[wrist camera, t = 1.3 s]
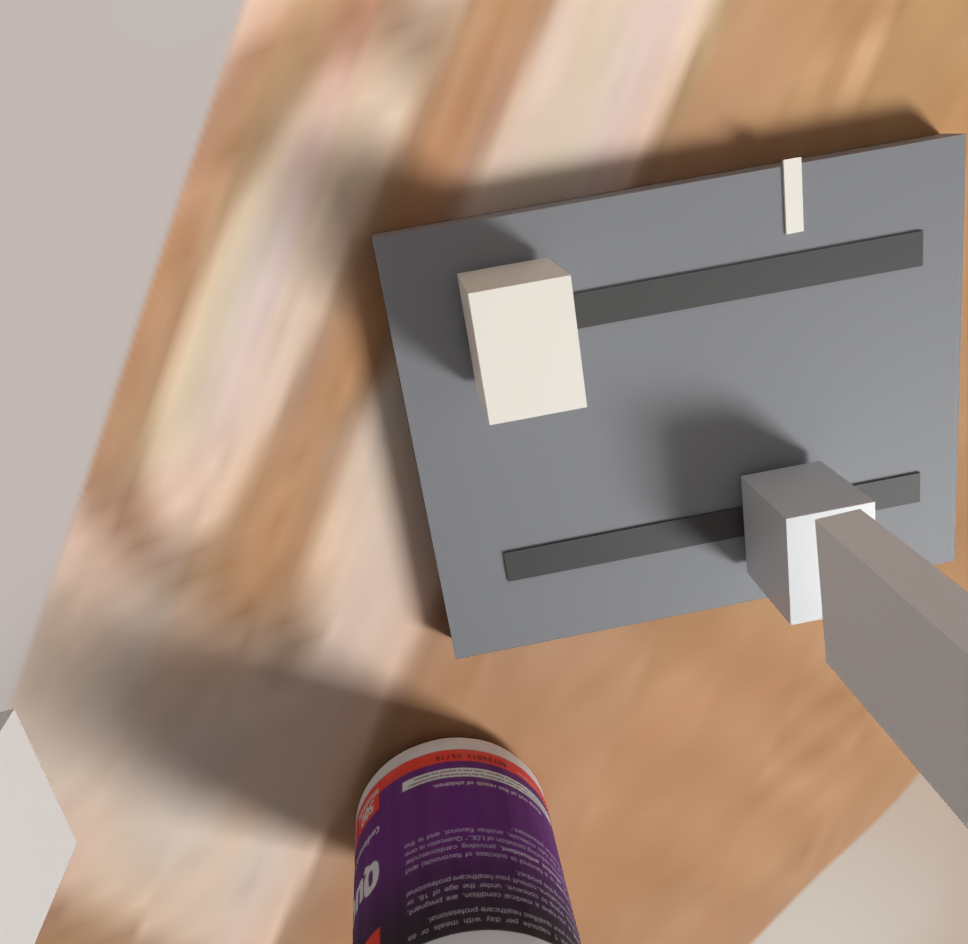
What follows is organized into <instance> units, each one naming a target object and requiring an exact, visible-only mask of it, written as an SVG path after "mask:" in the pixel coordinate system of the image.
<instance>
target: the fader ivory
mask: <svg viewBox="0 0 968 944" xmlns="http://www.w3.org/2000/svg"><path fill="white" fill-rule="evenodd" d="M457 277H458V283H459V289H460V295H461V301H462V307H463V313H464V319H465V325H466V330H467V336H468V342H469V348H470V354H471V360H472V366H473V372H474V378H475V384H476V390H477V393H478V395H479V398H480V401H481V403H482V406H483V409H484V411H485V414H486V417H487V419H488V422H489V425H494V424H500V423H505V422H510V421H516V420H521V419H526V418H532V417H537V416H542V415H548V414H553V413H558V412H564V411H569V410H574V409H580V408H585V407H587V401H586V393H585V385H584V377H583V369H582V361H581V353H580V345H579V337H578V329H577V321H576V313H575V305H574V297H573V289H572V281H571V275H570V274H569V273H567V272H566V271H565V270H563V269H562V268H561V267H559V266H558V265H557V264H555V263H554V262H553V261H551V260H550V259H548V258H547V257H546V258H541V259H535V260H530V261H524V262H519V263H513V264H507V265H502V266H496V267H491V268H485V269H480V270H474V271H468V272H463V273H457Z"/></svg>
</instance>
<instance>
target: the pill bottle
mask: <svg viewBox="0 0 968 944" xmlns="http://www.w3.org/2000/svg"><path fill="white" fill-rule="evenodd" d="M353 944H581V942H580V938H579V933H578V931H577V926H576V922H575V919H574V915H573V911H572V907H571V903H570V899H569V895H568V891H567V887H566V883H565V879H564V875H563V871H562V867H561V863H560V859H559V855H558V851H557V847H556V843H555V838H554V834H553V830H552V826H551V822H550V817H549V813H548V809H547V805H546V802H545V799H544V795H543V792H542V790H541V787H540V785H539V783H538V781H537V779H536V778H535V776H534V774H533V773H532V772H531V770H530V769H529V768H528V767H527V766H526V765H525V764H524V763H523V762H522V761H521V760H520V759H519V758H518V757H516V756H515V755H514V754H512V753H511V752H509V751H507V750H506V749H504V748H502V747H500V746H498V745H496V744H493V743H490V742H487V741H483V740H479V739H472V738H462V737H456V738H443V739H437V740H433V741H429V742H425V743H422V744H420V745H417V746H414V747H412V748H409V749H407V750H405V751H403V752H402V753H400V754H398V755H397V756H395V757H394V758H392V759H391V760H390V761H388V762H387V763H386V764H385V765H384V766H383V767H382V768H381V769H380V770H379V771H378V772H377V773H376V774H375V775H374V776H373V778H372V779H371V781H370V782H369V784H368V785H367V787H366V788H365V790H364V793H363V795H362V797H361V800H360V803H359V806H358V810H357V815H356V830H355V876H354V912H353Z"/></svg>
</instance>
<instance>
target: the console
mask: <svg viewBox="0 0 968 944" xmlns="http://www.w3.org/2000/svg"><path fill="white" fill-rule="evenodd" d="M965 158H966V134H936V135H931V136H925V137H919V138H914V139H908V140H902V141H897V142H891V143H885V144H880V145H874V146H868V147H863V148H857V149H851V150H846V151H840V152H834V153H829V154H823V155H817V156H812V157H806V158H801V157H797V158H791V159H785V160H782V162H778V163H772V164H767V165H761V166H755V167H750V168H744V169H738V170H733V171H727V172H721V173H716V174H710V175H704V176H699V177H693V178H687V179H682V180H676V181H671V182H665V183H659V184H654V185H648V186H642V187H637V188H631V189H625V190H620V191H614V192H608V193H603V194H597V195H591V196H586V197H580V198H574V199H569V200H563V201H557V202H552V203H546V204H540V205H535V206H529V207H524V208H518V209H512V210H507V211H501V212H495V213H490V214H484V215H478V216H473V217H467V218H461V219H456V220H450V221H444V222H439V223H433V224H427V225H422V226H416V227H410V228H405V229H399V230H394V231H388V232H382V233H377V234H372V242H373V247H374V252H375V257H376V262H377V267H378V272H379V277H380V282H381V287H382V292H383V297H384V302H385V307H386V312H387V317H388V322H389V327H390V332H391V337H392V342H393V347H394V352H395V357H396V362H397V367H398V372H399V377H400V382H401V387H402V392H403V397H404V402H405V407H406V412H407V417H408V422H409V427H410V432H411V437H412V442H413V447H414V452H415V457H416V462H417V467H418V472H419V477H420V482H421V487H422V492H423V497H424V502H425V507H426V512H427V517H428V522H429V527H430V532H431V537H432V542H433V547H434V552H435V557H436V562H437V567H438V572H439V577H440V582H441V587H442V592H443V597H444V602H445V607H446V612H447V617H448V622H449V627H450V632H451V637H452V642H453V647H454V652H455V658H456V659H459V658H464V657H469V656H474V655H479V654H484V653H489V652H495V651H500V650H505V649H510V648H515V647H520V646H525V645H530V644H535V643H540V642H545V641H550V640H555V639H560V638H565V637H570V636H575V635H580V634H585V633H591V632H596V631H601V630H606V629H611V628H616V627H621V626H626V625H631V624H636V623H641V622H646V621H651V620H656V619H661V618H666V617H671V616H676V615H681V614H687V613H692V612H697V611H702V610H707V609H712V608H717V607H722V606H727V605H732V604H737V603H742V602H747V601H752V600H757V599H762V598H767V596H766V595H765V593H764V592H763V591H762V590H761V589H760V587H759V586H758V585H757V584H756V583H755V581H754V580H753V579H752V578H751V577H750V576H749V574H748V573H747V564H746V548H745V532H744V517H743V501H742V485H741V476H744V475H749V474H754V473H759V472H764V471H770V470H775V469H780V468H785V467H790V466H796V465H801V464H806V463H811V462H817V461H821V462H823V463H824V464H825V465H827V466H828V467H829V468H831V469H832V470H833V471H835V472H836V473H837V474H839V475H840V476H841V477H843V478H844V479H845V480H847V481H848V482H849V483H851V484H852V485H853V486H855V487H856V488H857V489H859V490H860V491H862V492H863V493H864V494H866V495H867V496H868V497H870V498H871V499H872V500H874V501H875V521H877V522H878V523H879V524H880V525H882V526H883V527H884V528H886V529H887V530H888V531H889V532H891V533H892V534H893V535H895V536H896V537H897V538H898V539H900V540H901V541H902V542H904V543H905V544H906V545H907V546H909V547H910V548H911V549H913V550H914V551H915V552H916V553H918V554H919V555H920V556H922V557H923V558H924V559H925V560H927V561H928V562H929V563H931V564H932V565H934V564H939V563H944V562H949V561H954V554H955V518H956V482H957V446H958V410H959V374H960V338H961V302H962V266H963V230H964V194H965ZM546 257H547V258H548V259H550V260H551V261H553V262H554V263H555V264H557V265H558V266H559V267H561V268H562V269H563V270H565V271H566V272H567V273H569V274H570V275H571V281H572V289H573V297H574V305H575V313H576V321H577V329H578V337H579V345H580V353H581V361H582V369H583V377H584V385H585V393H586V401H587V407H585V408H580V409H574V410H569V411H564V412H558V413H553V414H548V415H542V416H537V417H532V418H526V419H521V420H516V421H510V422H505V423H500V424H494V425H489V422H488V419H487V417H486V414H485V411H484V409H483V406H482V403H481V401H480V398H479V395H478V393H477V390H476V384H475V378H474V372H473V366H472V360H471V354H470V348H469V342H468V336H467V330H466V325H465V319H464V313H463V307H462V301H461V295H460V289H459V283H458V277H457V273H463V272H468V271H474V270H480V269H485V268H491V267H496V266H502V265H507V264H513V263H519V262H524V261H530V260H535V259H541V258H546Z"/></svg>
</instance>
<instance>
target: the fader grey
mask: <svg viewBox="0 0 968 944" xmlns="http://www.w3.org/2000/svg"><path fill="white" fill-rule="evenodd" d="M741 485H742V501H743V517H744V532H745V548H746V564H747V573H748V574H749V576H750V577H751V578H752V579H753V580H754V581H755V583H756V584H757V585H758V586H759V587H760V589H761V590H762V591H763V592H764V593H765V595H766V596H767V597H768V598H769V599H770V601H771V602H772V603H773V604H774V605H775V607H776V608H777V609H778V610H779V611H780V613H781V614H782V615H783V616H784V617H785V619H786V620H787V621H788V622H789V623H790V625H794V624H799V623H804V622H809V621H814V620H819V619H823V615H822V602H821V590H820V578H819V565H818V553H817V540H816V528H815V519H819V518H823V517H828V516H832V515H836V514H840V513H844V512H849V511H853V510H857V509H861V510H862V511H864V512H865V513H866V514H868V515H869V516H870V517H871V518H873V519H874V520H875V501H874V500H872V499H871V498H870V497H868V496H867V495H866V494H864V493H863V492H862V491H860V490H859V489H857V488H856V487H855V486H853V485H852V484H851V483H849V482H848V481H847V480H845V479H844V478H843V477H841V476H840V475H839V474H837V473H836V472H835V471H833V470H832V469H831V468H829V467H828V466H827V465H825V464H824V463H823V462H821V461H817V462H811V463H806V464H801V465H796V466H790V467H785V468H780V469H775V470H770V471H764V472H759V473H754V474H749V475H744V476H741Z"/></svg>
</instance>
